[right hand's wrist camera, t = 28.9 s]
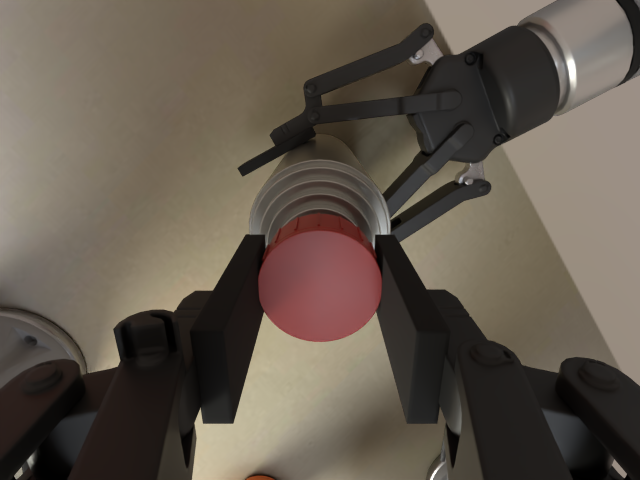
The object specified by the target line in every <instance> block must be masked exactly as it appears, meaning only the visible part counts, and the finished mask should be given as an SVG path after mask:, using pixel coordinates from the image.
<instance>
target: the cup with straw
mask: <svg viewBox="0 0 640 480" xmlns="http://www.w3.org/2000/svg"><path fill="white" fill-rule="evenodd" d="M246 480H274V479H273V478H270V477H267V476H253V477H250V478H247V479H246Z"/></svg>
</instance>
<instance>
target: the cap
mask: <svg viewBox="0 0 640 480" xmlns="http://www.w3.org/2000/svg"><path fill="white" fill-rule="evenodd" d="M376 258H377V256H376V253H375V250H374V248H373V245H372V243H371V242H369V240H368V239H367V237H366V236H365V235H364V233H363V232H362V231H361V230H360V227H359V226H358V227H357V226H355V225H354V224H353V223H351V222H349V221H348V220H346V219H343V218H342V217H341V216H339V217H338V216H334V215H329V214H320V213H318V214H310V215H306V216H302V217H296V219H294V220H293V221H291V222H289V223H288V224H286V225H285V226H283V227H282V228H279V230H278V232H277V233H276V235H275V236H274V237H273V239H272V240H271V242H270V244H268V245H267V247H266V250H265V252H264V255H263V258H262V261H263V262H262V265H261V268H260V271H259V275H258V287H259V300H260V303H261V306H262V308H263V310H264V312H265V313H266V315H267V316H268V318H269V319H270V320H271V321H272V322H273V323H274V324H275V325H276V326H277V327H278V328H279V329H281V330H282V331H284V332H285V333H287V334H289V335H291V336H293V337H296V338H299V339H303V340H307V341H314V342H326V341H333V340H338V339H341V338H344V337H346V336H349V335H351V334H353V333H354V332H356V331H358V330H359V329H360V328H362V327H363V326H364V325H365V324H366V323H367V322H368V321H369V320H370V319H371V318H372V316H373V315H374V313H375V312H376V310H377V308H378V306H379V303H380V300H381V291H382V275H381V271H380V268H379V265H378V263H377V260H376Z"/></svg>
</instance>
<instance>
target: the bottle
mask: <svg viewBox="0 0 640 480" xmlns="http://www.w3.org/2000/svg"><path fill="white" fill-rule="evenodd" d="M318 213H320V214H329V215H334V216H338V217H339V216H341V217H342V218H343V219H346V220H348V221H349V222H351V223H353V224H354V225H355V226H357V227H358V226H359V227H360V230H361V231H362V232H363V233H364V235H365V236H366V237H367V239H368V240H369V242H371V243H372V245H373V248H375V234H390V233H391V221H390V214H389V210H388V206H387V204H386V201H385V199H384V197H383V195H382V193H381V192H380V190H379V189H378V187H377V186H376V184H375V183H374V182H373V180H372V179H371V178H370V176H369V175H368V173H367V172H366V171H365V169H364V168H363V167H362V165H361V164H360V162H359V161H358V160H357V158H356V157H355V156H354V154H353V153H352V151H351V150H350V149H349V147H348V146H347V145H346V144H345V143H344V142H342V141H341V140H340V139H338V138H336V137H334V136H331V135H327V134H316V136H315V137H314V138H312V139H310V140H308V141H306V142H305V143H303V144H301V145H299V146H297V147H296V148H294V149H292V150H290V151H288V153H287V154H286V155H285V157H284V158H283V159H282V161H281V162H280V164H279V165H278V166H277V168H276V169H275V171H274V172H273V173H272V175H271V176H270V177H269V179H268V180H267V182H266V183H265V184H264V186H263V187H262V189H261V190H260V192H259V193H258V195H257V197H256V199H255V201H254V203H253V206H252V210H251V213H250V220H249V233H250V234H265V243H266V247H267V245H268V244H270V242H271V240H272V239H273V237H274V236H275V235H276V233H277V232H278V230H279V228H282V227H283V226H285V225H286V224H288V223H289V222H291V221H293V220H294V219H296V217H302V216H306V215H310V214H318Z"/></svg>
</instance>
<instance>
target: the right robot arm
mask: <svg viewBox="0 0 640 480" xmlns="http://www.w3.org/2000/svg"><path fill="white" fill-rule="evenodd" d="M265 250H266V243H265V234H246V235H245V237H244V239H243V240H242V242H241V244H240V245H239V247H238V249H237V251H236V252H235V254H234V256H233V257H232V259H231V261H230V263H229V264H228V266H227V268H226V269H225V271H224V273H223V275H222V276H221V278H220V280H219V281H218V283H217V285H216V286H215V288H214V290H213V291H194V292H193V293H191V294H190V295H188V296H187V297H185V298H184V299H183V300H182V301H181V303H180V304H179V306H178V307H177V310H175V311H174V313H173V312H171V311H167V310H149V311H144V312H140V313H137V314H134V315H132V316H129V317H127V318H126V319H124V320H122V321H121V322H119V323H118V324H117V326H116V327H115V328H114V329H113V330H114V334H115V339H116V343H117V347H118V352H119V356H120V360H121V361H120V363H119V365H118V367H115V368H112V369H107V370H103V371H98V372H93V373H88V374H86V366H85V362H84V359H83V357H82V354H81V352H80V351H79V349H78V347H77V346H76V344H75V343H74V342H73V341H72V339H71V338H70V337H69V336H68V335H67V334H66V333H65V332H64V331H62V330H61V329H60V328H59V327H57V326H56V325H54V324H53V323H51V322H50V321H48V320H46V319H44V318H42V317H40V316H38V315H35V314H33V313H30V312H26V311H22V310H18V309H11V308H0V480H16V479H15V477H14V475H15V474H16V473H17V472H18V470H19V469H20V468H21V467H22V470H23V474H22V475H21V476H20V477H19V478H18V479H17V480H192V473H193V464H194V456H195V447H196V431H195V425H194V422H195V420H196V417H197V415H198V412H199V410H200V407H201V413H202V420H203V424H233V423H234V419H235V415H236V412H237V408H238V405H239V401H240V397H241V394H242V390H243V386H244V383H245V379H246V375H247V372H248V368H249V364H250V361H251V357H252V354H253V350H254V346H255V343H256V339H257V335H258V332H259V328H260V324H261V321H262V317H263V313H264V310H263V308H262V306H261V303H260V300H259V287H258V275H259V271H260V268H261V265H262V262H263V261H262V258H263V255H264V252H265ZM374 250H375V253H376V256H377V258H376V260H377V263H378V265H379V268H380V271H381V275H382V291H381V300H380V303H379V306H378V308H377V310H376V313H377V316H378V320H379V323H380V327H381V331H382V334H383V338H384V342H385V345H386V349H387V353H388V356H389V360H390V364H391V367H392V371H393V374H394V378H395V382H396V385H397V389H398V393H399V396H400V400H401V404H402V407H403V411H404V415H405V418H406V422H407V424H437V421H438V415H439V408H440V407H441V410H442V412H443V415H444V417H445V420H446V425H445V431H444V437H443V444H442V450H441V457H440V461H442V462H445V457H446V464H447V472H448V480H640V386H639V385H638V384H636V383H635V382H634V381H633V380H632V379H631V378H629V377H628V376H627V375H625V374H624V373H622V372H621V371H619V370H618V369H616V368H614V367H612V366H609V365H607V364H606V363H604V362H601V361H598V360H597V361H596V360H594V359H589V358H580V357H574V358H568V359H566V360H564V361H563V362H562V363H561V366H560V369H559V373H555V372H550V371H545V370H540V369H536V368H531V367H527V366H524V365H521V363H520V360H519V359H518V358H517V356H516V355H515V354H514V353H513V352H512V351H511V350H509V349H508V348H506V347H505V346H503V345H501V344H498V343H496V342H494V341H489V340H487V339H486V337H485V336H484V334H483V333H482V332H481V330H480V329H479V327H478V326H477V325H476V323H475V322H474V320H473V319H472V318H471V317H469V314H468V312H467V311H466V309H464V307H463V305H462V304H461V302H460V301H459V300H458V298H457V297H455V296H454V295H452V294H451V293H449V292H448V291H446V290H427V289H426V288H425V286H424V284H423V283H422V281H421V279H420V277H419V276H418V274H417V272H416V271H415V269H414V267H413V265H412V264H411V262H410V260H409V259H408V257H407V255H406V254H405V252H404V250H403V248H402V247H401V245H400V243H399V242H398V240H397V238H396V236H395V235H394V234H375V248H374ZM614 459H615V460H616V461H617V463H618V464H619V465H620V466H621V467H622V468H623V470H624V471H625V472H626V473H627V476H626V477H625V478H623V477H622V476H621V475H620V474H619V473H618V472H617V471H616V470H615V469H614V467H613V466H612V463H613V461H614Z"/></svg>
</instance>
